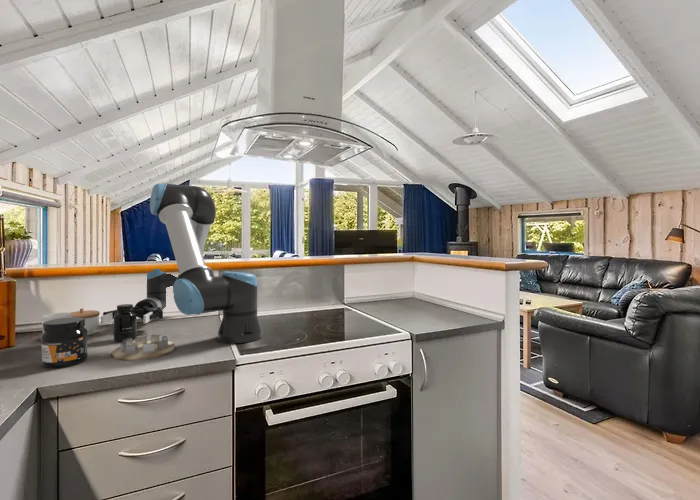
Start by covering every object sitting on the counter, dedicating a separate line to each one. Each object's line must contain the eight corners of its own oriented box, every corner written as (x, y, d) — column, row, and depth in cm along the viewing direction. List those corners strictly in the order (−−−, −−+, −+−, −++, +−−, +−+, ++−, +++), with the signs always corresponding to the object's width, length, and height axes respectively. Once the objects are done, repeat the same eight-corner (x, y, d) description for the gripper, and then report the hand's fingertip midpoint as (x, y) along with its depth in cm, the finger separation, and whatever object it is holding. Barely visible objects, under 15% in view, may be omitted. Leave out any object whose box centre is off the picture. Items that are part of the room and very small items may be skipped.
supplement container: (35, 371, 100) (34, 326, 100) (48, 359, 110) (47, 318, 109) (83, 366, 104) (82, 323, 104) (91, 354, 114) (90, 315, 114)
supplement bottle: (126, 343, 126) (125, 307, 126) (108, 341, 128) (107, 306, 127) (141, 337, 133) (140, 303, 133) (124, 336, 134) (123, 302, 134)
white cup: (78, 343, 125) (77, 313, 125) (51, 350, 118) (50, 318, 118) (64, 340, 129) (63, 311, 128) (36, 347, 122) (36, 316, 121)
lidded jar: (81, 330, 143) (80, 305, 142) (107, 331, 141) (106, 306, 141) (55, 337, 132) (54, 311, 132) (83, 339, 131) (82, 312, 130)
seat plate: (185, 344, 125) (185, 341, 125) (152, 361, 108) (152, 358, 108) (137, 342, 127) (137, 339, 127) (98, 359, 110) (98, 355, 110)
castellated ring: (175, 342, 123) (175, 335, 123) (150, 355, 110) (150, 347, 110) (139, 341, 125) (139, 333, 125) (110, 353, 112) (110, 345, 112)
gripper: (180, 316, 153) (162, 329, 132) (114, 318, 149) (84, 332, 128) (180, 298, 152) (161, 308, 131) (113, 299, 149) (83, 310, 128)
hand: (123, 320), depth 130 cm, fingers open, 13 cm apart
